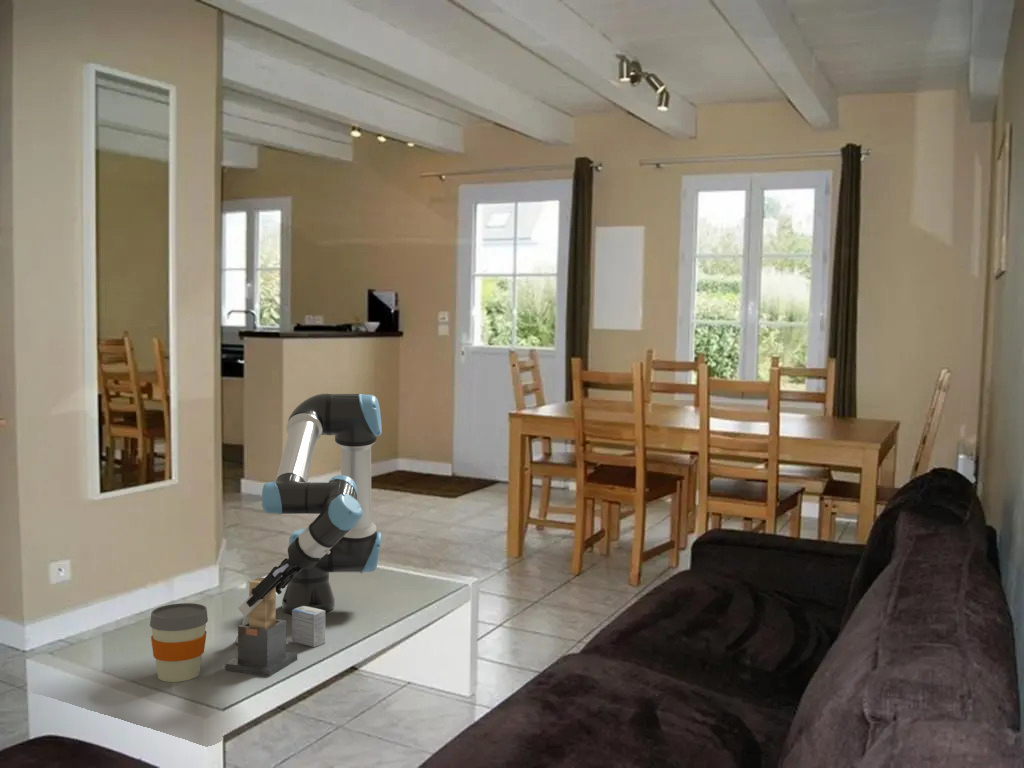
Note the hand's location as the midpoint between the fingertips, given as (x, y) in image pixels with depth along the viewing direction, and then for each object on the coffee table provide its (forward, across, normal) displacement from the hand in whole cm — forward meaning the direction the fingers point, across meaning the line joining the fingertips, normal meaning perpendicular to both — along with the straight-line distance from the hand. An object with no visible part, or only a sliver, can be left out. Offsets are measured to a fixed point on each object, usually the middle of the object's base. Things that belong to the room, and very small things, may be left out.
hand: (248, 609), depth 213 cm
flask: (+15, +13, -4) cm, 20 cm away
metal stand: (+7, 0, -12) cm, 14 cm away
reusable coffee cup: (+17, -12, -2) cm, 21 cm away
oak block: (+5, 0, -10) cm, 11 cm away
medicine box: (+5, +18, -14) cm, 23 cm away
